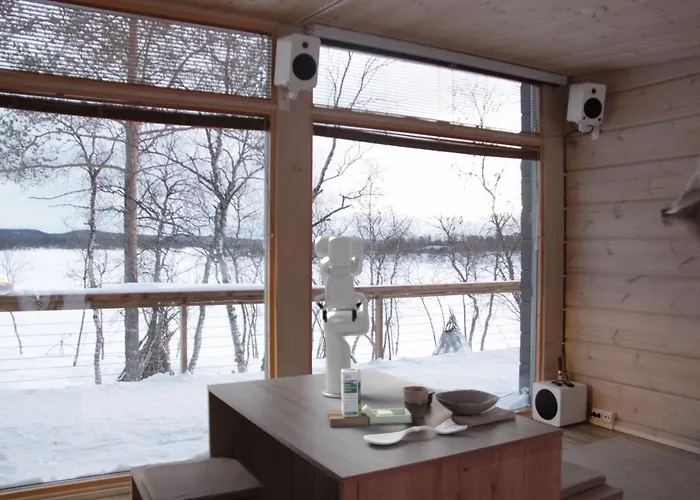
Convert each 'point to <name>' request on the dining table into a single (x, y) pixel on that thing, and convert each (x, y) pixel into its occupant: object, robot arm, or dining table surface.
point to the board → (346, 419)
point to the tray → (391, 417)
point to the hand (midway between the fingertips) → (339, 321)
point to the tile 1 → (368, 411)
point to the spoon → (397, 436)
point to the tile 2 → (384, 413)
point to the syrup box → (351, 392)
